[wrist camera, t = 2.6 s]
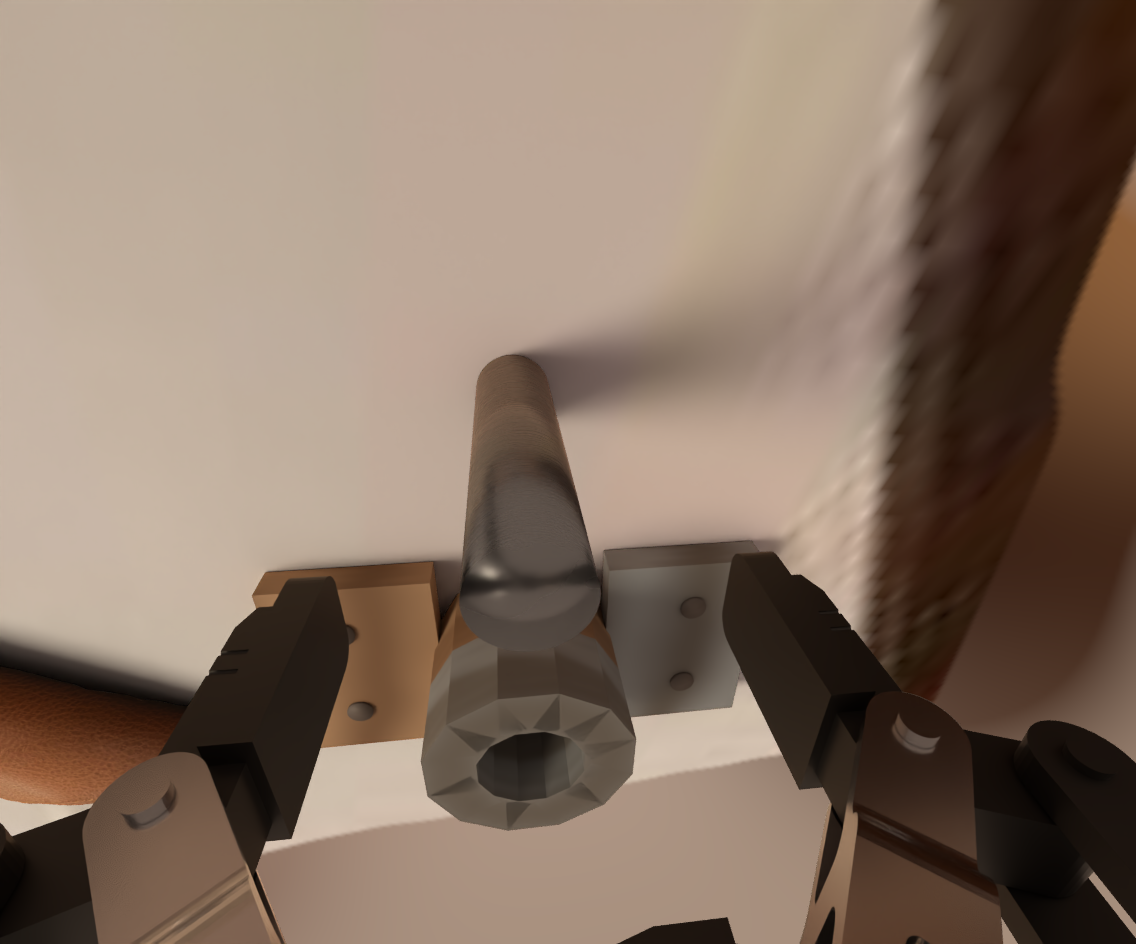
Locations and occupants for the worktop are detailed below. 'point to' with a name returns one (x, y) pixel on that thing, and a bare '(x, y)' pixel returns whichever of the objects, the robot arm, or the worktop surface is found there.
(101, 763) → the sunglasses case
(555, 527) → the hinge pin
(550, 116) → the worktop surface
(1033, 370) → the worktop surface
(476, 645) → the hinge leaves
